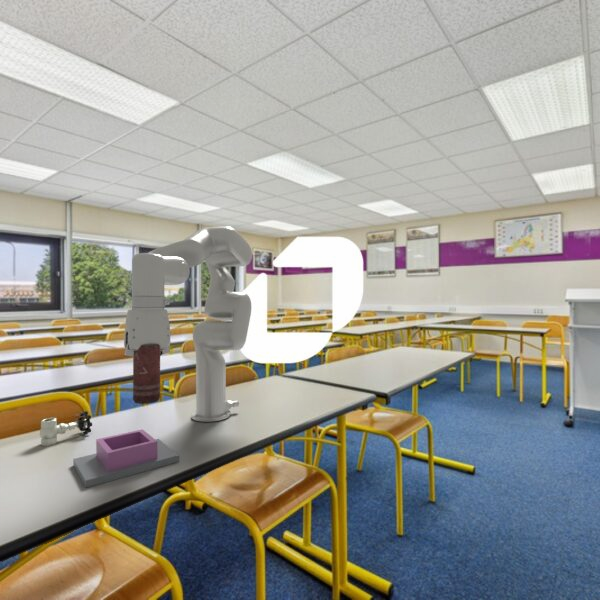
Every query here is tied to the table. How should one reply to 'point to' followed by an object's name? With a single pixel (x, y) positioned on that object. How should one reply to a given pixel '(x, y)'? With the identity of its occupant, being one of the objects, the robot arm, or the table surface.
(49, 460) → the table surface
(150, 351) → the can
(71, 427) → the valve
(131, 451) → the cup holder
